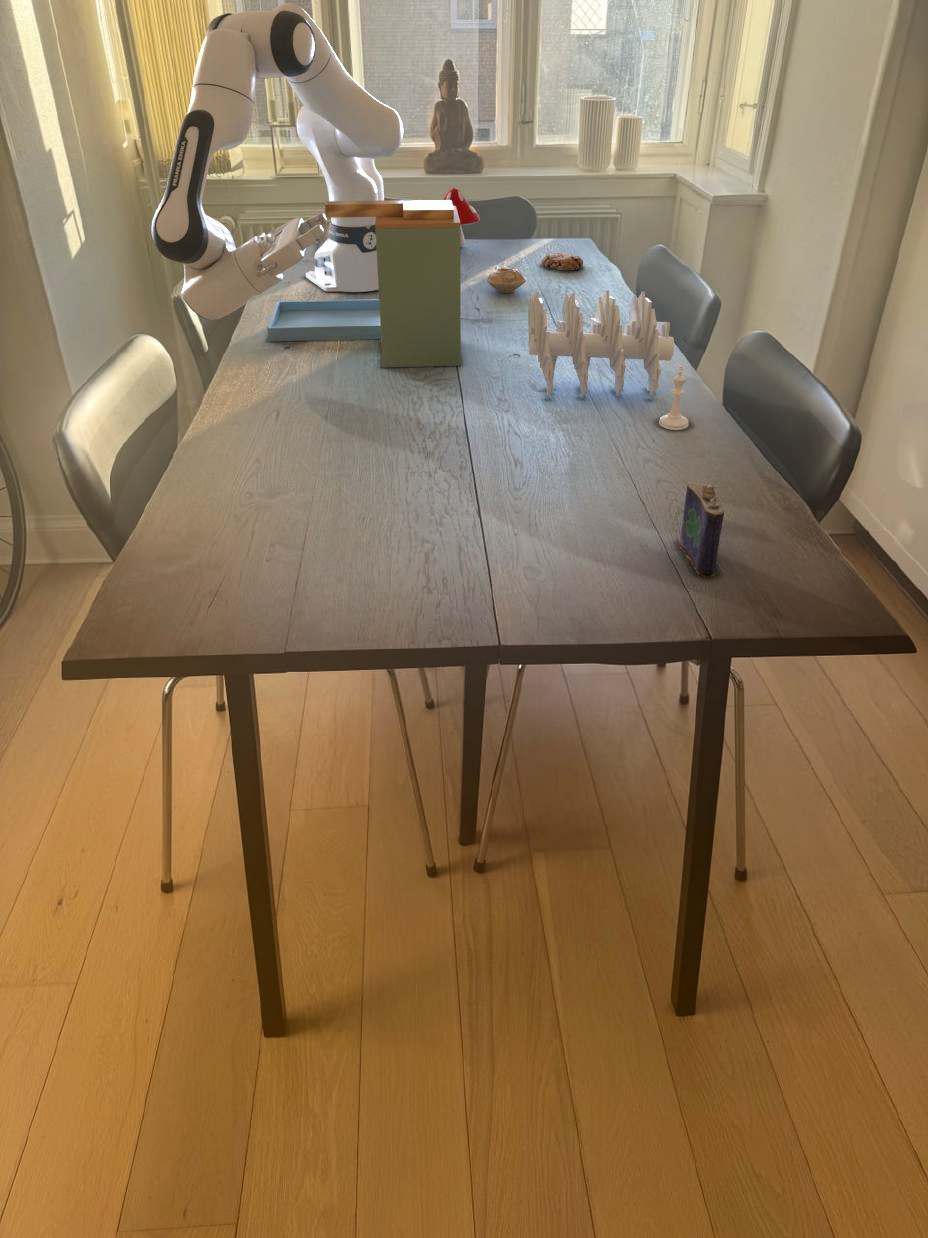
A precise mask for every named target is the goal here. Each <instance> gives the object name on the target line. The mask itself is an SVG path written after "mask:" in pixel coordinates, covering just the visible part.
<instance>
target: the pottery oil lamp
mask: <svg viewBox="0 0 928 1238" xmlns="http://www.w3.org/2000/svg"><path fill="white" fill-rule="evenodd" d="M485 282H486V283H487V284H489V285H490V286H491V287H492V288H493V289H495V290H496V291H497V292H499V293H502V294H511V293H513V292H515V291H516V290H517V289H519V288H520V287H521V286H523V285H524V284H525V283H526V282H527V278H526V276H524V274H523V273H522V272H521V271H519V270H518V269H517V268H510V267H508V266H504V265H499V266H498V265H497V266H495V268H494V270H493V271H492V272H491V273H490V274H489V275H488V276H487V277H486V279H485Z"/></svg>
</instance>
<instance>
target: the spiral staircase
mask: <svg viewBox="0 0 928 1238" xmlns="http://www.w3.org/2000/svg"><path fill="white" fill-rule="evenodd" d="M528 302H529V303H528V309H527V323H528V324H527V325H528V326H527V327H528V355H529V356H530V355H531V356H537V361H538V363H539V369H541V371H542V374H543V377H544V380H545V382H546V398H548V399H549V398H551V395H552V392H553V388H554V377H555V370H556V363H557V360H558V358H559V357H572V365H573V369H574V370H575V372H576V375H577V378H578V381H579V390H580V393H579V394H580V395H579V396H580V399H584V397H585V395H586V393H587V392H588V379H589V368H590V367H589V366H590V362H591V358H599V359H608V360H609V368H610V369H611V370H612V372H614V388H613V392H615V396H616V397H620V396H621V393H622V390H623V388H624V385H625V378H624V377H625V373H626V367H627V365H626V362H625V361H626V360H643V368H644V370H645V372H646V373H647V385H646V386H647V387H646V391H647V392H649V398H653V397H654V396H655V393H656V392H657V390H658V388H659V381H660V380H659V379H660V376H661V371H662V369H661V366H660V362H659V361H665V362H666V361H668V362H669V361H672V359H673V357H674V352H675V339H674V337H673V336H670V328H671V322H670V321H657V316H656V308H653V307H652V305H653V302H652V301H651V299H650V298H649V297H646V291H644V290H642V291H641V293H640V294H639V295H638V297H637V295H633V296H632V301H631V304H630V308H629V312H628V317H629V322H627V323H623V324H622V325H621V315H620V309H619V305H618V304H616V298H615V297H613V296H611V295H610V290H605V293H604V295H603V297H602V296H598V298H597V302H596V306H595V307H596V308H595V313H594V317H591V318H590V325H589V331H588V332H584V320H583V319H584V317H583V315H584V314H583V313H582V312H580V307H581V306H580V303H579V301H578V299H576V293H574V292H572V293H571V294H570V295H569V294H565V295H564V300H563V304H562V310H561V317H562V318H561V319H562V320H556V329H555V330H556V331H550V330H549V331H548V330H547V329H548V320H547V319H548V318H547V317H548V316H547V309H544V302H543V299H542V297H540V292H539V291H536V292H535V294H534V295H533V294H532V295H530V296H529V301H528Z"/></svg>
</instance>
